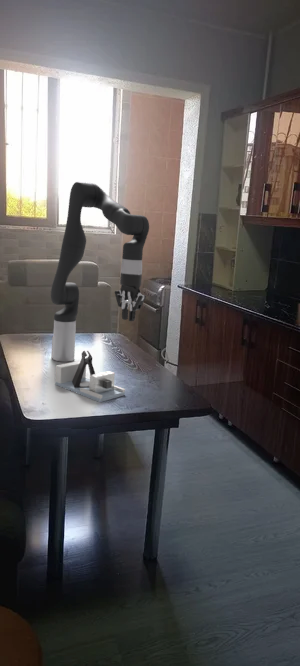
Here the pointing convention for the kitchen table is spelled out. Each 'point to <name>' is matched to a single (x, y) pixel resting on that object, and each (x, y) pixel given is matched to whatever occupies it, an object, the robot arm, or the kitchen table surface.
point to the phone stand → (80, 371)
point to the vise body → (67, 374)
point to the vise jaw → (102, 382)
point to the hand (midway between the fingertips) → (128, 320)
